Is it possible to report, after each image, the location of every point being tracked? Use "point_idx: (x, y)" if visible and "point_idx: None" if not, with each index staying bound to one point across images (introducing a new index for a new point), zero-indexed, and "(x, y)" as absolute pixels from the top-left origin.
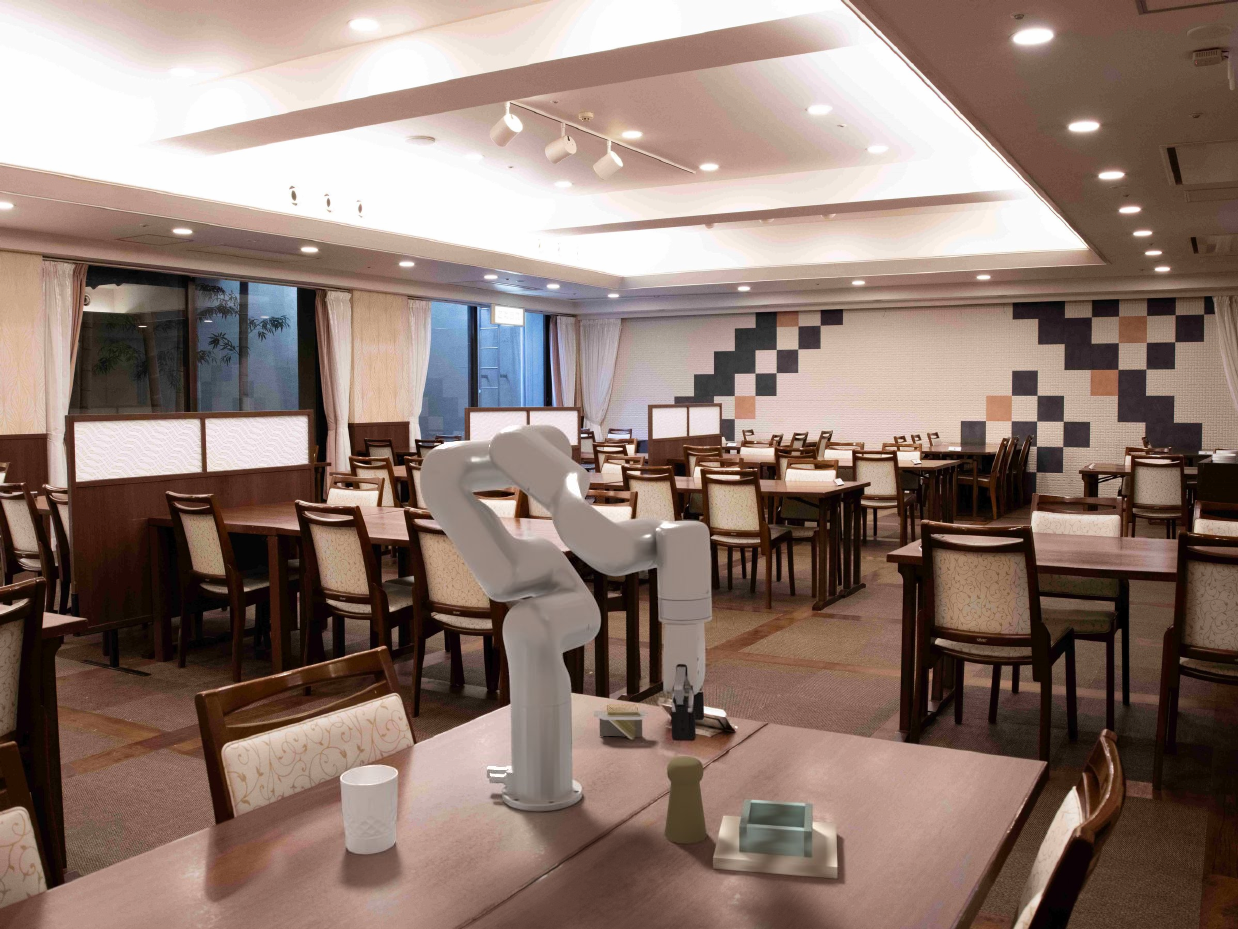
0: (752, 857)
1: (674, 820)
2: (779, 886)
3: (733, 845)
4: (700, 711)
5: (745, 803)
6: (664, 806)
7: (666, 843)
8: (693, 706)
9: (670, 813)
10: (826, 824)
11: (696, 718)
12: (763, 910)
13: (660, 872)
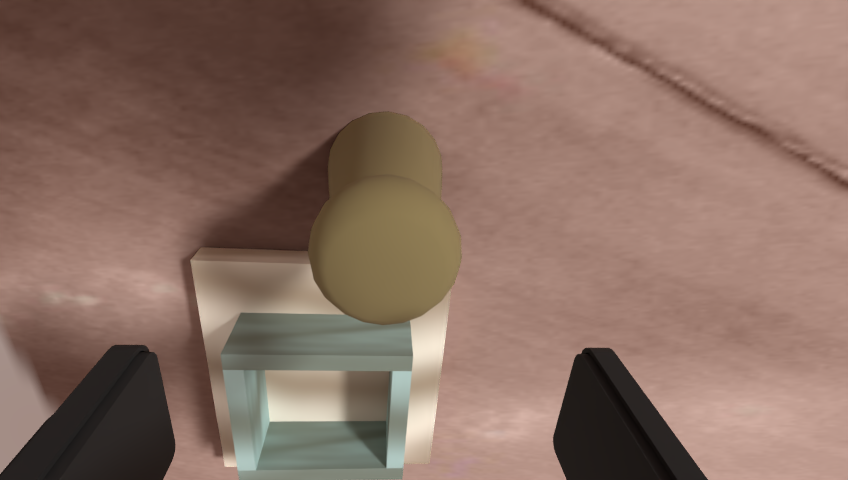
0: (218, 339)
1: (336, 159)
2: (164, 368)
3: (274, 299)
4: (574, 478)
5: (382, 359)
6: (580, 93)
7: (321, 122)
8: (595, 477)
9: (349, 150)
10: (421, 451)
11: (560, 422)
12: (45, 346)
13: (135, 122)
